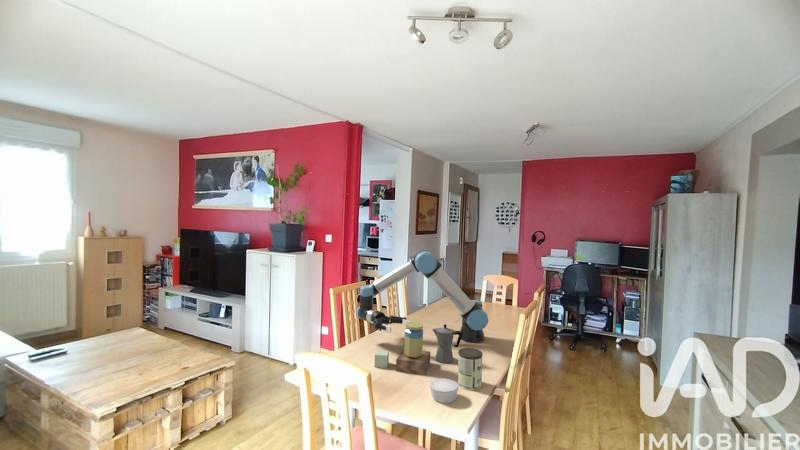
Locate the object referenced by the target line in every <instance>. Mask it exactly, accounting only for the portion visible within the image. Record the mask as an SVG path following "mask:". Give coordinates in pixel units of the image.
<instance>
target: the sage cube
mask: <svg viewBox="0 0 800 450" xmlns="http://www.w3.org/2000/svg"><path fill="white" fill-rule="evenodd" d="M389 353H390V351H389V350H380V349H376V351H375V354H374V368H379V369H380V368H381V369H387V368H388V365H389V362H390V361H389V360H390V359H389V357H390V354H389Z"/></svg>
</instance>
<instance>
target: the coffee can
mask: <svg viewBox="0 0 800 450" xmlns="http://www.w3.org/2000/svg"><path fill="white" fill-rule="evenodd" d="M457 354H458V356H457V357H458V359H457V361H458V365H457V367H458V372H457V375H458V376H457V384H458V387H459V388H461V389H464V390H467V391H468V390H469V391H477V390H480V389H481V388H482V386H483V384H482V383H483V382H482V381H483V352H482V351H481V350H479V349H476V348H473V347H463V348H460V349H458V352H457Z"/></svg>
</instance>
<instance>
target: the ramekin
mask: <svg viewBox="0 0 800 450" xmlns="http://www.w3.org/2000/svg"><path fill="white" fill-rule="evenodd" d="M429 389H430V394H431V397H432V399H433V400H434V401H436V402H437V403H441V404H450V403H453V402H454V401H455V400H456V399H457V395H458V390H459V385H458V382H456V381H454V380H453V379H449V378H436V379H434V380H431V381H430V383H429Z"/></svg>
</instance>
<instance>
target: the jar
mask: <svg viewBox="0 0 800 450" xmlns="http://www.w3.org/2000/svg"><path fill="white" fill-rule="evenodd" d="M409 321H410V320H409ZM423 327H424V323H422V322H421V321H415V320H411V321H410V322H406V326H405V331H404V348H403V349H404V354H405V355H407V356H408V357H411V358H417V357H420V356H422V351H423V343H424V342H423V341H424V329H423Z"/></svg>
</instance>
